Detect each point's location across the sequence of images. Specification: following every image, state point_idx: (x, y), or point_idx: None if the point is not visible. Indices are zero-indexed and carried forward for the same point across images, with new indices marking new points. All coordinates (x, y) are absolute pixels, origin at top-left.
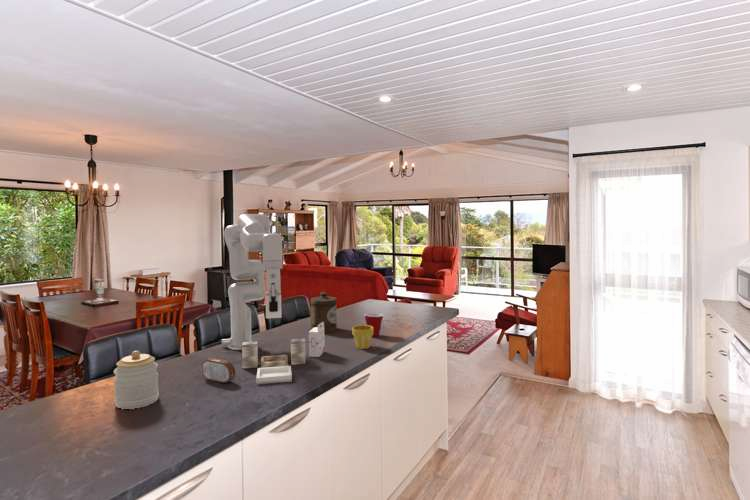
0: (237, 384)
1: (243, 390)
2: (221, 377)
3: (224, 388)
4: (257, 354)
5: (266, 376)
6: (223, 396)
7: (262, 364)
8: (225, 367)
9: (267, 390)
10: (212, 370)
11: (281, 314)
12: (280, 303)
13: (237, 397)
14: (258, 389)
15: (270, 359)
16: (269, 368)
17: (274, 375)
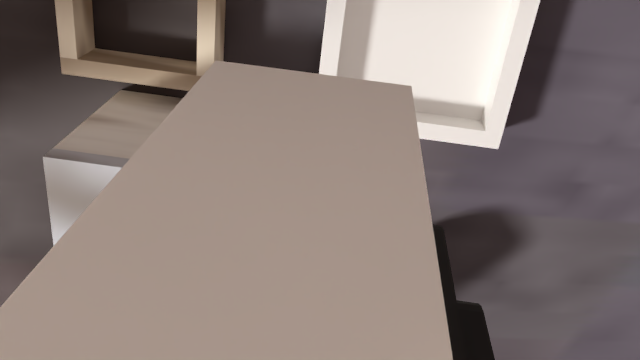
0: (437, 221)
1: (543, 201)
2: None
3: (465, 277)
4: (115, 120)
5: (500, 88)
6: (571, 286)
7: None
8: None
9: (619, 83)
10: None
11: (412, 108)
12: (426, 264)
13: (624, 233)
14: (573, 129)
15: (83, 6)
16: (339, 48)
17: (418, 17)
